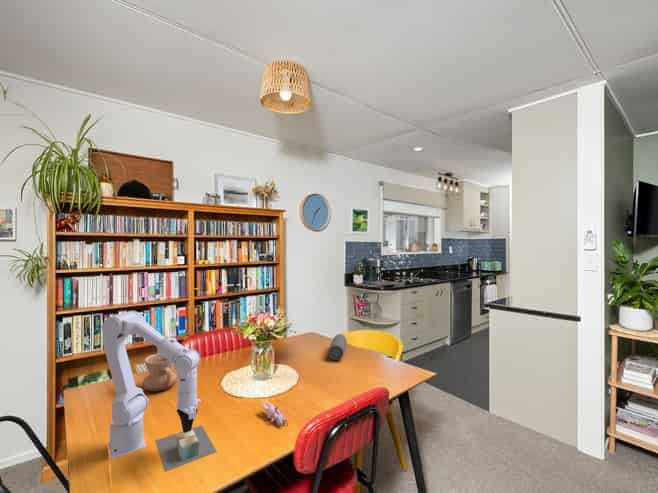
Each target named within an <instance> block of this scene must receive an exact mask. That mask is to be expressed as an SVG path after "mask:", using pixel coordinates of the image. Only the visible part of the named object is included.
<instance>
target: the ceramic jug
mask: <svg viewBox="0 0 658 493" xmlns="http://www.w3.org/2000/svg"><path fill="white" fill-rule="evenodd" d="M144 364H145V367H146V369H147V371H148V373H149V374H148V375H147V376H146V377H144V379H143V380H142V382H141V386H142V389H143V390H145V391H147V392H162V391H165V390H168V389H170V388H172V387H173V386H174V385H176V383H178V377H177V373H175V372H173V371H172V368H173V366H174V365H173V363H172V362H170V361H169V360H168V359H166V358H165V357H163V356H162V355H161V354H159V353H158V352H157V353H156V354H152V355H149V356H147V357H146V358H145V359H144Z"/></svg>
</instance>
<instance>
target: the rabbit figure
mask: <svg viewBox="0 0 658 493" xmlns="http://www.w3.org/2000/svg"><path fill="white" fill-rule="evenodd" d="M261 407H262V409H263V410H264V412H266V417H267V418H268V419H271V420H270V421H271V422H274V420H275V421H276V424H277V426H279V427H280V428H281V429H282V428H284V425H285V424H286V423H287V424H286V426H289V421H288V419H286V417H285V416H286V414H285V413H284V414H282V413H281V411H280V409H279V406H275V405H274V404H273V403H271V402H267V403H265V404H262V405H261Z"/></svg>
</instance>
